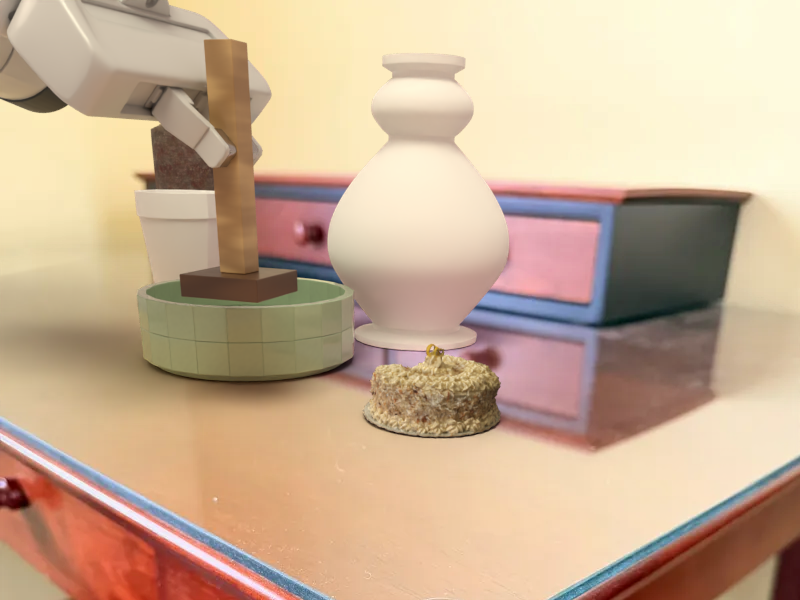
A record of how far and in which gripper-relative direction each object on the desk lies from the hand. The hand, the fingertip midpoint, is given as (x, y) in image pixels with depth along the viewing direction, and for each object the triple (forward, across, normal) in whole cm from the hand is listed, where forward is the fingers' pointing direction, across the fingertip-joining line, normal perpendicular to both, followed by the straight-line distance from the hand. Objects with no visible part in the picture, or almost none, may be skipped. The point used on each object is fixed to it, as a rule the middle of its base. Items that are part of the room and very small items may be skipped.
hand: (239, 160), depth 55 cm
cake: (+21, -2, -2) cm, 21 cm away
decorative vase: (+14, -28, -9) cm, 33 cm away
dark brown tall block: (-8, -37, -32) cm, 49 cm away
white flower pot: (-4, -27, -28) cm, 39 cm away
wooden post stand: (+6, 0, -6) cm, 9 cm away
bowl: (+6, -12, -17) cm, 22 cm away
